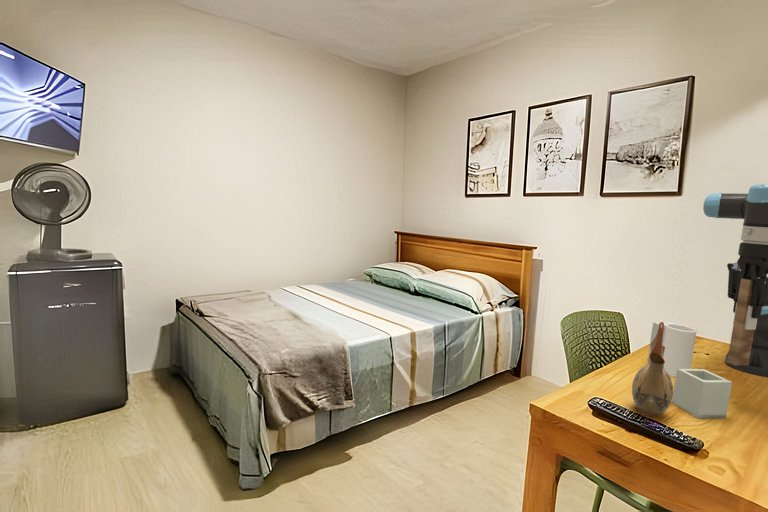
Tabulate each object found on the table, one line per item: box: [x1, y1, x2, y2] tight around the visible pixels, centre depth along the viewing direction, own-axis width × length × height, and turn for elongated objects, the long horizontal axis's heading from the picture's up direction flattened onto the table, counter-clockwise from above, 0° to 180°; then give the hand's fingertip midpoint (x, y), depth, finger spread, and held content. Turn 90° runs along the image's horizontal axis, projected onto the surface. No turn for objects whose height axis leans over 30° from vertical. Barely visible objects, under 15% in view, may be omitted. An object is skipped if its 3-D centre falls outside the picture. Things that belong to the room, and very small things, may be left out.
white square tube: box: [671, 368, 733, 419], centre depth 112 cm, size 8×8×10 cm
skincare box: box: [647, 320, 681, 362], centre depth 145 cm, size 8×6×15 cm
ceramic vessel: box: [631, 321, 674, 418], centre depth 108 cm, size 16×9×25 cm, turn 146°
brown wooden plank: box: [727, 278, 754, 365], centre depth 113 cm, size 4×2×24 cm, turn 98°
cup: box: [663, 323, 697, 378], centre depth 137 cm, size 8×8×16 cm
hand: (743, 327), depth 113 cm, fingers closed on brown wooden plank, 2 cm apart
